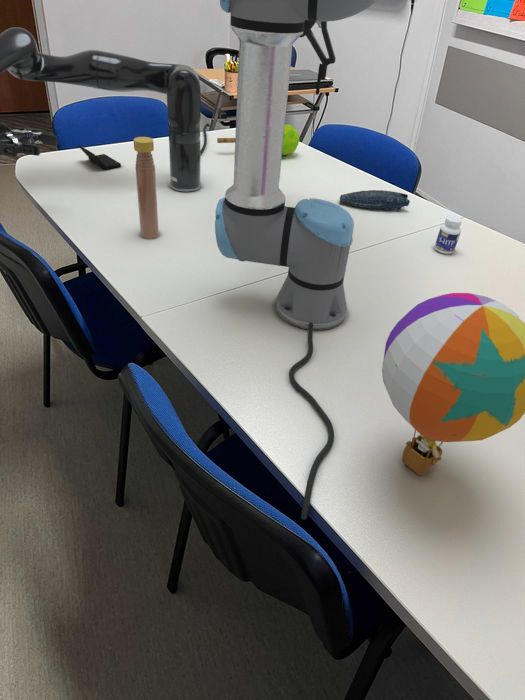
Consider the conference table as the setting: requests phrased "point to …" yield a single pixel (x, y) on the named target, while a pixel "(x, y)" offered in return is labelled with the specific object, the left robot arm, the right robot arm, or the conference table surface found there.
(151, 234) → the bottle
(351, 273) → the conference table surface
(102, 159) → the black angled piece
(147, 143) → the cap
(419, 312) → the toy
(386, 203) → the fish model
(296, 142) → the decorative tree
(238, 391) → the conference table surface
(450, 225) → the pill bottle
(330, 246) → the right robot arm
